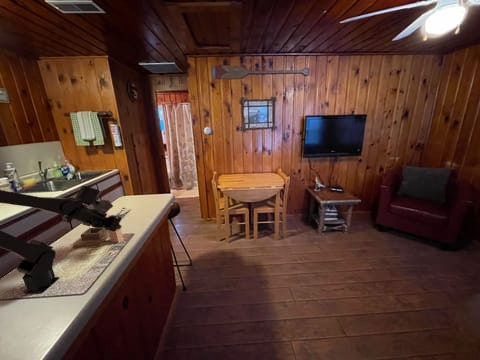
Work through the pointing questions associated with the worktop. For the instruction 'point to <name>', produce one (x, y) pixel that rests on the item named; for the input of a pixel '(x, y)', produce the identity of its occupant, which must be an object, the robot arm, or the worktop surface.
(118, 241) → the clay rectangular block
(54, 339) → the worktop surface
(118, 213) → the driftwood
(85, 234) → the square socket base
